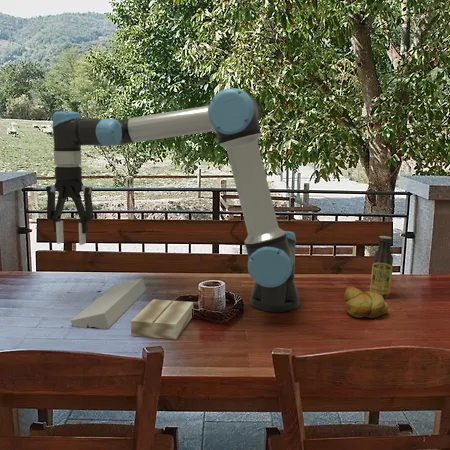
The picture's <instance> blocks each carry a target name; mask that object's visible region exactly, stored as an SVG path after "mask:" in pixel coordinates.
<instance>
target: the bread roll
mask: <svg viewBox="0 0 450 450" xmlns="http://www.w3.org/2000/svg"><path fill="white" fill-rule="evenodd" d="M343 299H344V301H345V308H346V309H345V310H346V311H347V313H348V314H349V316H352V317H353V318H357V319H358V318H364V317H366V318H368V319H369V318H370V319H372V318H377V317H380V316H383V315H385V314H386V313H387V312H388V311H389V309H390V307H389V305H388V303H387V302H386V301H385V299H384V298H383V297H382V296H381V295H380V294H379V293H377V292H374V291H370V290H366V291H362V290H361V289H359V288H357V287H355V286H353V285H349V286H347V287H345V291H344V295H343Z"/></svg>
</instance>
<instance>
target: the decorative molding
mask: <svg viewBox="0 0 450 450" xmlns="http://www.w3.org/2000/svg"><path fill="white" fill-rule="evenodd" d="M146 292H147V289H146V286H145V282H144V279H143V277H141V278H137V279H134V280H130V281H125V282H119V283H116V284H114V285H112V287H110V288H109V289H108V290H107V291H105V292H104V293H103V294H101V295H100V296H99V297H98V298H97V299H96V300H94V301H92V302H91V303H90V304H89V305H88V306H86V307H85V308H84V309H83V310H82V311H80V312H79V313H78V314H77V315H75V316H74V317H73V318H72V319H70V323H71V325H72V326H73V328H77V327H78V328H84V329H87V328H90V329H91V328H93V327H94V328H97V329H100V330H109V329H110V328H111V327H112V326H113V325H114V324H115V323H116V322H117V321H118V320H119V319H120V318H121V317H122V316H123V315H124V314H125V313H126V312H127V311H128V310H129V309H130V308H131V307H132V306H133V305H135V303H136V302H137V301H138V300H139V299H141V297H142V296H143V294H145V293H146Z"/></svg>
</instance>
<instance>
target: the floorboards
mask: <svg viewBox="0 0 450 450" xmlns="http://www.w3.org/2000/svg"><path fill="white" fill-rule="evenodd" d="M192 309H193V310H194V301H182V300H181V301H180V300H175V299H172V300H167V299H165V300H164V299H152V300H151V301H150V302H149V303H148V304H147V305H145V307H143V309H142V310H141V311H140V312H138V313H137V314H136V315H135V316H134V317H133V318H132V319H131V320H130V336H132V337H142V338H143V337H145V338H154V339H155V338H156V339H167V340H177V339H178V337H179V336H180V335H181V334H182V332H183V331H184V329H185V328H186V326H187V325H188V324H189V322H190V321H191V319H192V318H193V317H192Z"/></svg>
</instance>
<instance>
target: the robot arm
mask: <svg viewBox="0 0 450 450" xmlns="http://www.w3.org/2000/svg"><path fill="white" fill-rule="evenodd" d="M259 118H260V107H259V105H258V102H257V101H256V99H255V97H253V96H252V95H251V94H248V92H246V91H245V90H242V89H240V88H236V87H235V88H234V87H233V88H225V89H222V90H220V91H218V92H217V93H216V94H215V95H214V96H213V97H212V99H211V101H210V103H209V104H208V105H204V106H198V107H191V108H185V109H178V110H171V111H167V112H160V113H155V114H147V115H142V116H136V117H129V118H122V119H114V118H81V116H80V112H77V111H55V112H53V114H52V127H51V129H52V134H53V135H52V136H53V150H54V151H53V159H54V161H53V164H54V165H55V167H54V178H55V183H54V185H47V186H46V187H45V190H46V194H47V195H46V196H47V201H46V202H47V203H46V219H47V220H50V221H52V222H53V232H54V233H55V234H56V244H58V245H60V244H63V243H64V241H65V240H64V239H65V238H64V220H62V214H63V211H64V207H65V204H66V203H65V202H66V201H67V199H68V198H69V199H71V200H72V202H73V203H74V205H75V208H76V211H77V215H78V218H79V220H80V222H78V242H79V243H78V245H79V246H82V245H85V244H86V243H87V240H86V234H88V232H89V225H88V224H89V222H90V221H93V220H94V219H95V216H94V215H95V213H94V207H93V199H92V197H93V196H92V192H93V186H86V185H84V183H83V182H82V181H83V179H82V178H83V171H82V170H83V169H82V166H81V165H82V146H93V147H102V146H103V147H111V146H112V147H116V146H126V145H127V144H134V143H140V142H148V141H153V140H155V141H156V140H159V139H160V140H161V139H168V138H176V137H182V136H189V135H195V134H196V135H197V134H204V133H209V132H214V134H216V135H217V140H218V144H219V146H220V147H222V148H223V149H225V150H226V153H227V157H228V160H229V165H230V168H231V173H232V175H233V181H234V183H235V184H234V185H235V187H236V192H237V196H238V200H239V204H240V208H241V212H242V214H243V215H242V216H243V219H244V224H245V227H246V231H247V237H246V238H245V240H244V246H245V250H246V254H247V257H248V260H247V270H248V275H249V276H250V278H251V279H252V280H253V282H254V284H253V287H252V290H251V293H250V295H249V304H250V306H251V307H252V308H254V309H257V310H260V311H264V312H271V313H273V312H274V313H281V312H282V313H283V312H285V313H286V312H290V311H294V310H297V309H298V308H299V307H300V296H299V292H298V290H297V289H298V288H297V286H296V282H295V269H296V267H295V266H296V264H295V263H296V243H297V239H296V234H295V232H294V231H289V230H288V231H287V230H283V229H282V228H280V227H279V224H278V220H277V215H276V212H275V208H274V203H273V200H272V195H271V190H270V188H269V183H268V179H267V175H266V171H265V167H264V164H263V159H262V155H261V151H260V146H259V140H260V138H261V136H262V131H261V126H260V123H259ZM56 191H57V192H58V195H57V200H56ZM81 192H82V194H83V200H84V204H83V202H82V201H83V200H82V196H81ZM56 201H57V202H56Z"/></svg>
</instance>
